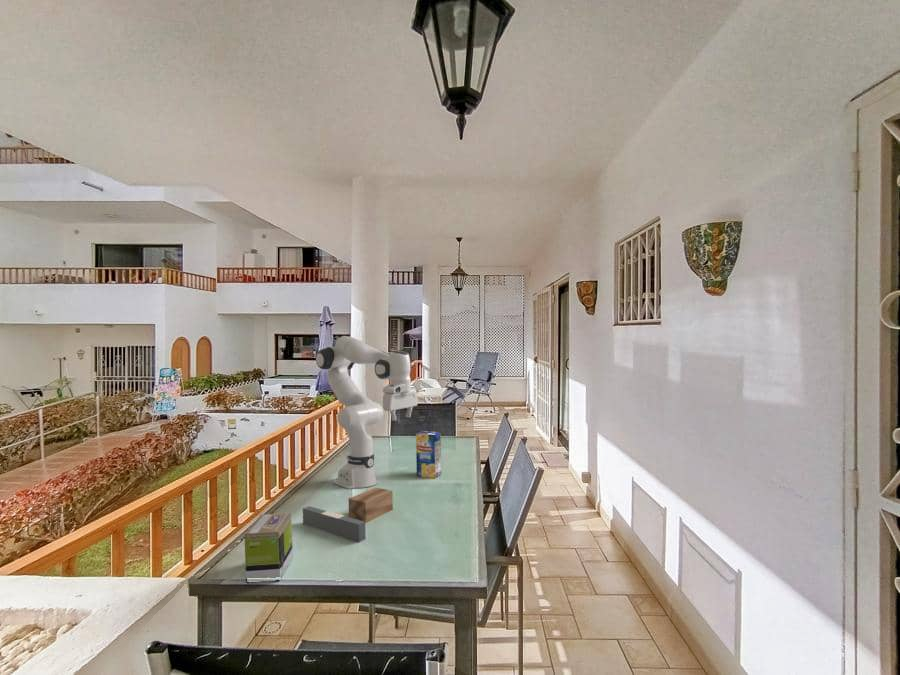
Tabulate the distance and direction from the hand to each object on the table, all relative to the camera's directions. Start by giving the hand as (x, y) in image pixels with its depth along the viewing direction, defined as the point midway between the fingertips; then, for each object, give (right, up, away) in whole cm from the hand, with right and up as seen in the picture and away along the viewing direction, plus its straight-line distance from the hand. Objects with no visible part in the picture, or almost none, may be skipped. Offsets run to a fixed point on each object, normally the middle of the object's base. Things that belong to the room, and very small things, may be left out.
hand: (401, 418), depth 202 cm
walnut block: (-10, -35, -18) cm, 41 cm away
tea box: (-33, -35, -62) cm, 79 cm away
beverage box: (+11, -36, +35) cm, 51 cm away
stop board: (-22, -35, -34) cm, 54 cm away
